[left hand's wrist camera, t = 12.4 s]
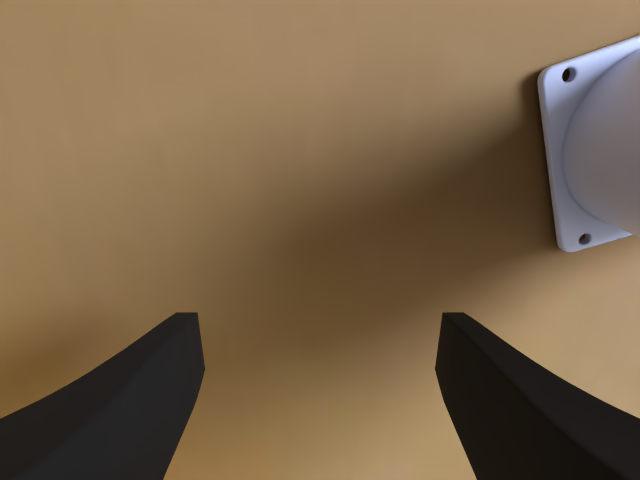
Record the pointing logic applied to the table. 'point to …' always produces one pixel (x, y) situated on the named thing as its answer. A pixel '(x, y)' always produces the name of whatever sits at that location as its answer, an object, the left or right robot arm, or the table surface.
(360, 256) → the table surface
